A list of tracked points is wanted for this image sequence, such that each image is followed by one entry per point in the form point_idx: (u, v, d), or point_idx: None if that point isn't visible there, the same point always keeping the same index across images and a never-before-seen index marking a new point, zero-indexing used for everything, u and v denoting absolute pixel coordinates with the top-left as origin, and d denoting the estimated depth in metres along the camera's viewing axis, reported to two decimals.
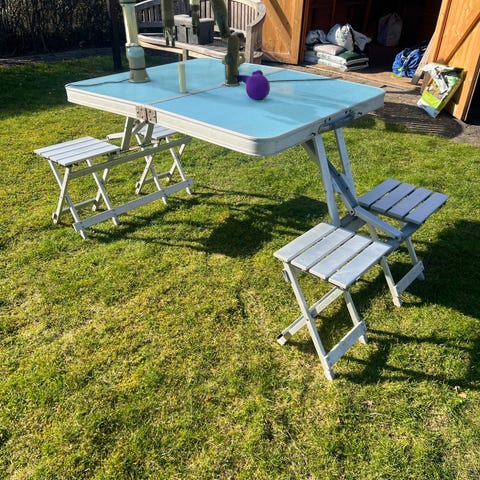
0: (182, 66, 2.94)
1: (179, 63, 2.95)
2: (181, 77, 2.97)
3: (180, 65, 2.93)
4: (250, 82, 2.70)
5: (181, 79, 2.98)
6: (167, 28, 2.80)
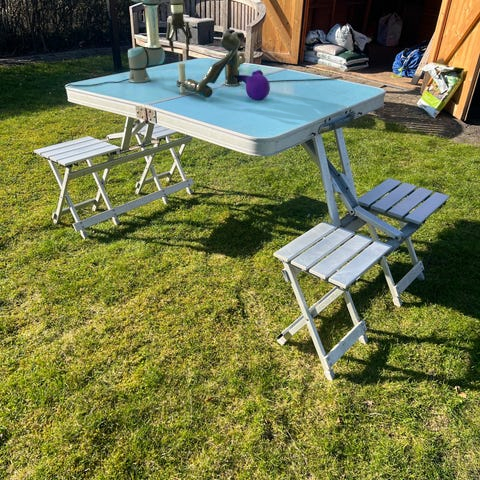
0: (182, 66, 2.94)
1: (179, 63, 2.95)
2: (181, 77, 2.97)
3: (180, 65, 2.93)
4: (250, 82, 2.70)
5: (181, 79, 2.98)
6: None
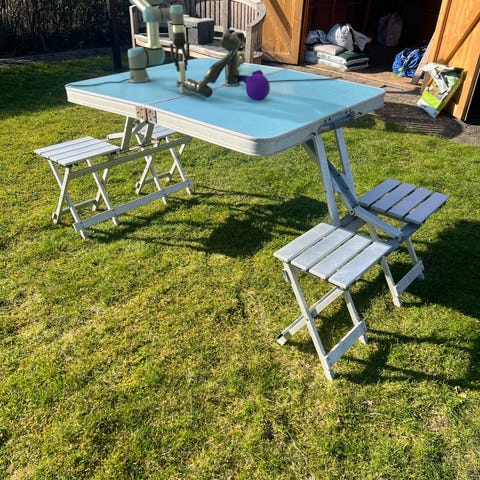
0: (182, 66, 2.94)
1: (179, 63, 2.95)
2: (181, 77, 2.97)
3: (180, 65, 2.93)
4: (250, 82, 2.70)
5: (181, 79, 2.98)
6: None
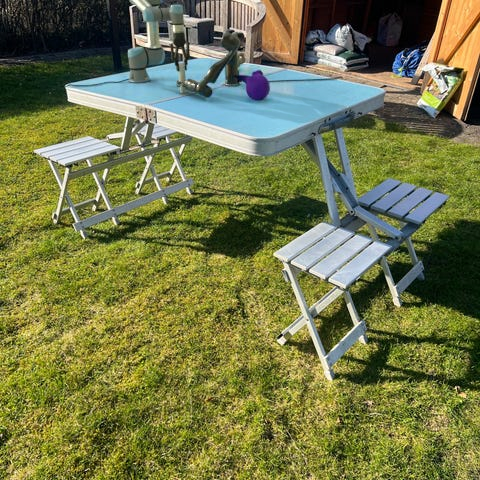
0: None
1: (182, 63, 2.94)
2: (181, 77, 2.97)
3: None
4: (250, 82, 2.70)
5: (181, 79, 2.98)
6: None
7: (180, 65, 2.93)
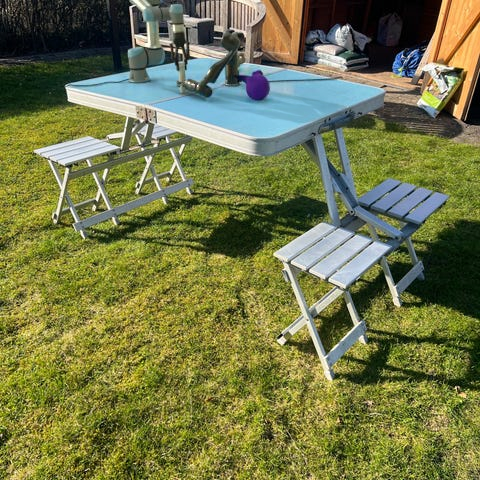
0: None
1: (181, 62, 2.95)
2: (181, 77, 2.97)
3: None
4: (250, 82, 2.70)
5: (181, 79, 2.98)
6: None
7: None
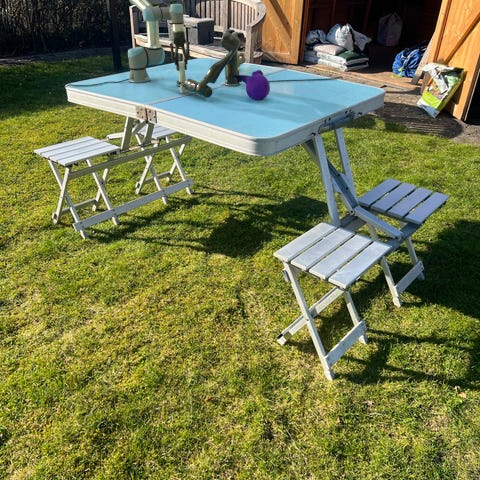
0: (183, 65, 2.94)
1: (179, 62, 2.94)
2: (181, 77, 2.97)
3: (181, 64, 2.93)
4: (250, 82, 2.70)
5: (181, 79, 2.98)
6: None
7: None
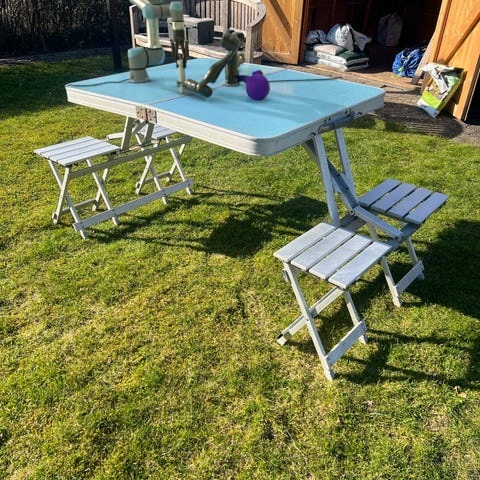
0: None
1: (182, 60, 2.93)
2: (181, 77, 2.97)
3: None
4: (250, 82, 2.70)
5: (181, 79, 2.98)
6: None
7: (181, 62, 2.93)
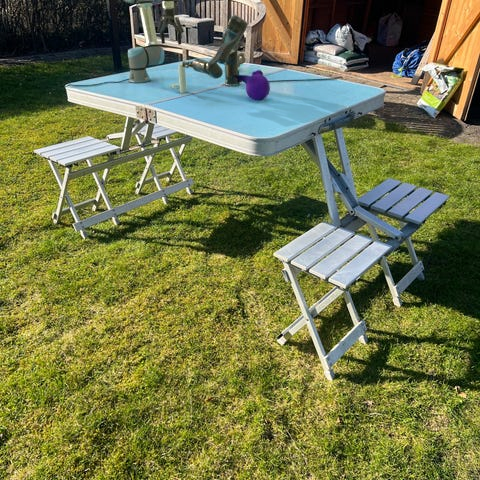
0: None
1: (176, 84, 3.14)
2: (181, 77, 2.97)
3: None
4: (250, 82, 2.70)
5: (181, 79, 2.98)
6: None
7: (175, 86, 3.14)
